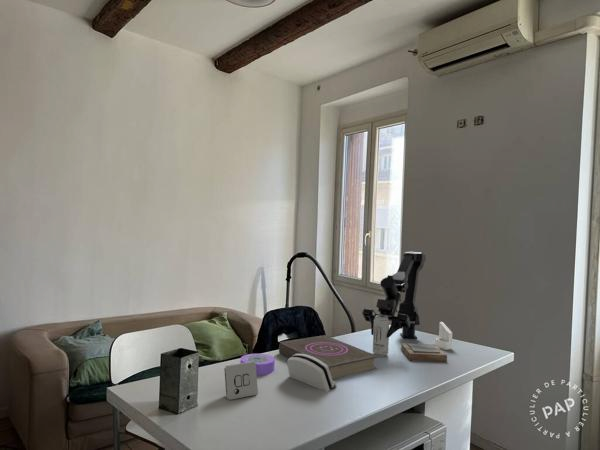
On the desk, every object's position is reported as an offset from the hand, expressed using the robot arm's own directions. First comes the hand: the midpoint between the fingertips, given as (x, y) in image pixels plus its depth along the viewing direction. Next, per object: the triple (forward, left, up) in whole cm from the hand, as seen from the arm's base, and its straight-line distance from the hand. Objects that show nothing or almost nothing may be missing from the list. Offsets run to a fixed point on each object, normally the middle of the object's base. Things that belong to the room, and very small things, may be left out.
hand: (379, 335), depth 166 cm
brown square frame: (-2, +18, -8) cm, 19 cm away
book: (+9, -21, -8) cm, 24 cm away
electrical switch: (+42, -48, -8) cm, 64 cm away
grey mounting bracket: (+31, -27, -8) cm, 42 cm away
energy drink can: (-1, +1, -8) cm, 8 cm away
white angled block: (-14, +30, -8) cm, 34 cm away
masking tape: (+20, -45, -8) cm, 50 cm away
